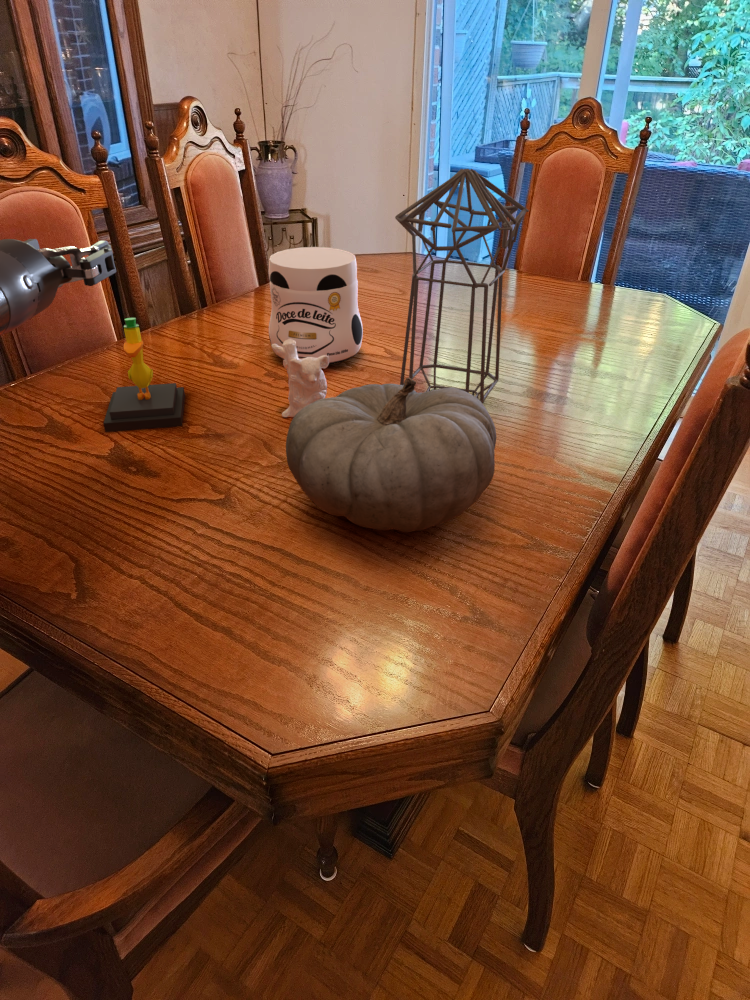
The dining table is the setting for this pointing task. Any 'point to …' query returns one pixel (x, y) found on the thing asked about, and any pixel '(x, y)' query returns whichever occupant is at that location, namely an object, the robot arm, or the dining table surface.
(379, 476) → the gourd
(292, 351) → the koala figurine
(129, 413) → the pad stack
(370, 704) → the dining table surface
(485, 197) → the geometric lantern
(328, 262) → the milk container
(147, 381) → the toy figure
